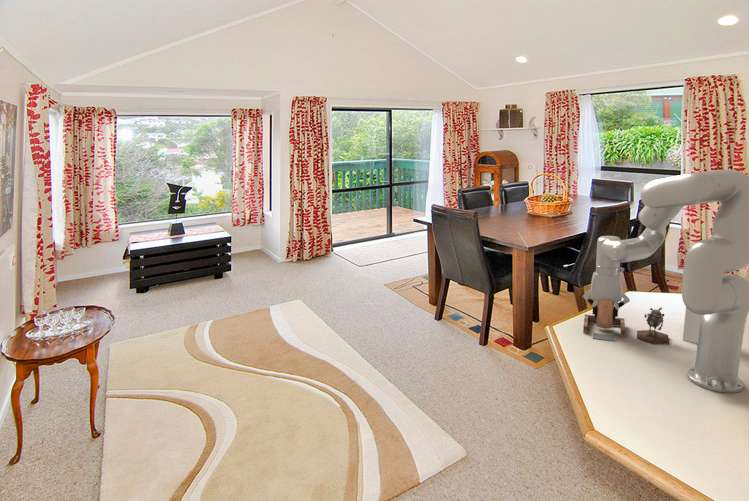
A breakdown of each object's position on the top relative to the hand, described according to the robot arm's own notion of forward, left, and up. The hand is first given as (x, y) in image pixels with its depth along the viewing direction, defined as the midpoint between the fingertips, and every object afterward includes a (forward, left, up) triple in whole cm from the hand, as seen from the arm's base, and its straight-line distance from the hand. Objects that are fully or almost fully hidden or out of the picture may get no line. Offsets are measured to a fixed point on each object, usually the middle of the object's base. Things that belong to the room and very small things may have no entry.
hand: (604, 316), depth 158 cm
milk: (+1, -28, -6) cm, 28 cm away
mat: (-7, 0, -5) cm, 9 cm away
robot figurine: (-2, -15, -6) cm, 16 cm away
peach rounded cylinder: (-1, 0, -3) cm, 4 cm away
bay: (0, 0, -5) cm, 5 cm away
